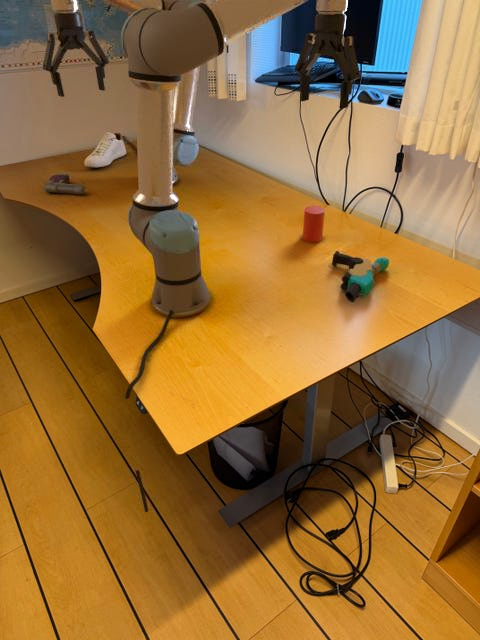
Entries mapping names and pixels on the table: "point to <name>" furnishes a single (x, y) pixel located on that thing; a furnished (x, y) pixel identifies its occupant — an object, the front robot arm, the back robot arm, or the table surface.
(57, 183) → the toy gun
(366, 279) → the toy gun
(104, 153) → the sneaker
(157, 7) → the back robot arm
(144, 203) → the front robot arm
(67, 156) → the table surface
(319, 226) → the canister
